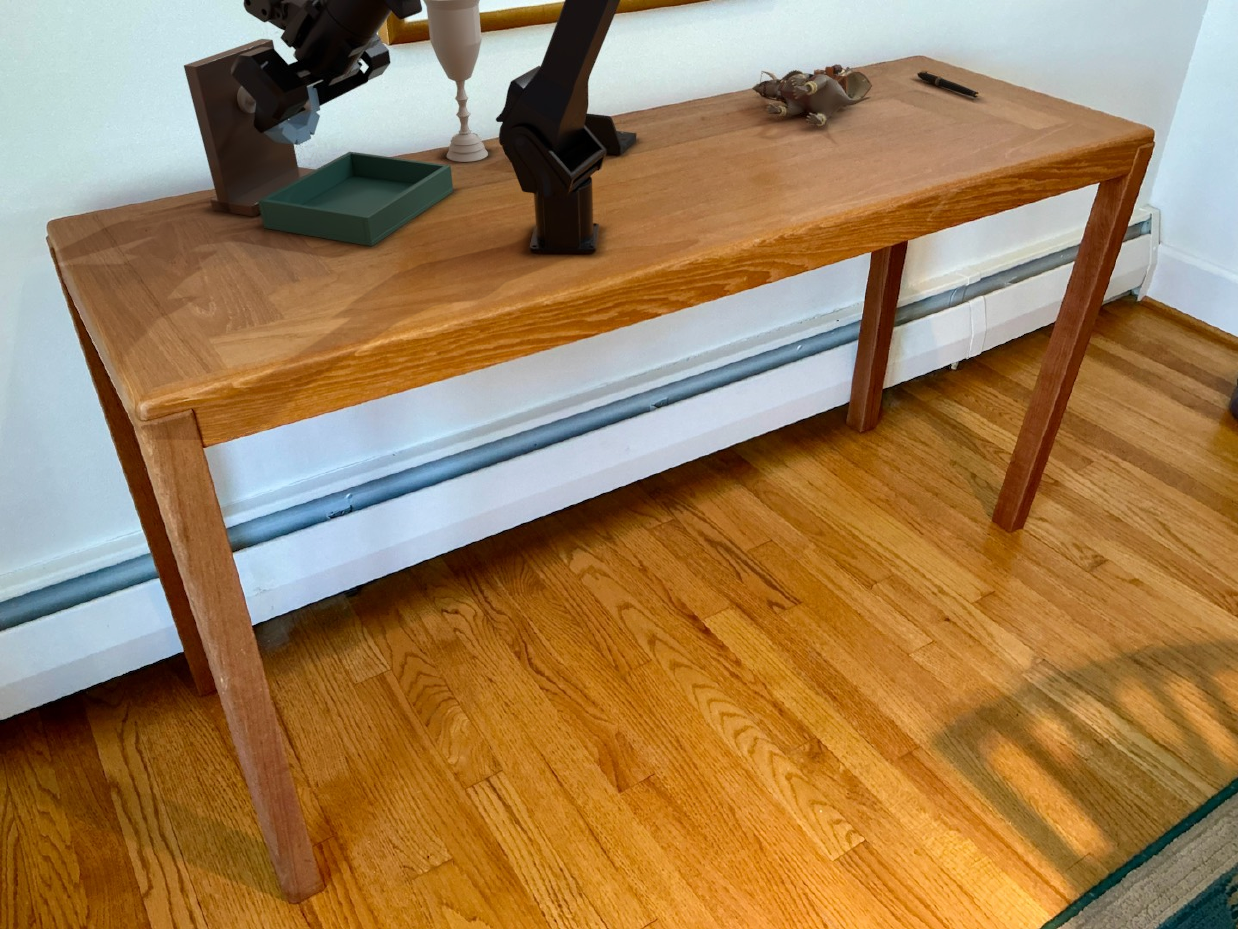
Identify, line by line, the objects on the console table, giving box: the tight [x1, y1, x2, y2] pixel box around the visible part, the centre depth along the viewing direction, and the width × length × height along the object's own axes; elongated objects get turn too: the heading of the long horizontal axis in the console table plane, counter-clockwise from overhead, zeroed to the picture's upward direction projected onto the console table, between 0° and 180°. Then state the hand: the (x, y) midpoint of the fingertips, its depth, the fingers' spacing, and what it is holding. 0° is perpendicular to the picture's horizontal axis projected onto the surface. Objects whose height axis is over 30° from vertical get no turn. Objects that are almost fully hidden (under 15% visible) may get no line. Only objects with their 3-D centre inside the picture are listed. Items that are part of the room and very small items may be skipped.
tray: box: [258, 151, 454, 247], centre depth 106 cm, size 13×16×3 cm
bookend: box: [584, 113, 637, 156], centre depth 121 cm, size 12×7×10 cm
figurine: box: [751, 63, 873, 127], centre depth 133 cm, size 20×6×17 cm
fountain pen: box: [916, 69, 984, 99], centre depth 142 cm, size 14×1×2 cm, turn 26°
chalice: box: [422, 0, 489, 163], centre depth 115 cm, size 7×7×18 cm
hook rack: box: [183, 38, 317, 218], centre depth 105 cm, size 11×12×15 cm
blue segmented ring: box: [255, 85, 321, 146], centre depth 103 cm, size 2×7×7 cm, turn 158°
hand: (280, 119), depth 104 cm, fingers closed on blue segmented ring, 7 cm apart
